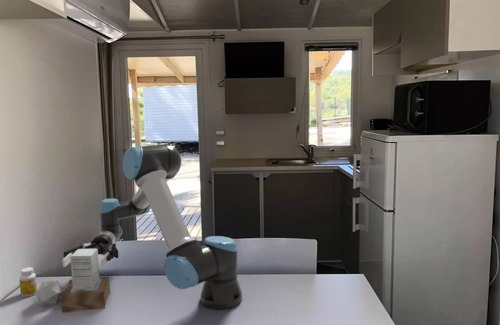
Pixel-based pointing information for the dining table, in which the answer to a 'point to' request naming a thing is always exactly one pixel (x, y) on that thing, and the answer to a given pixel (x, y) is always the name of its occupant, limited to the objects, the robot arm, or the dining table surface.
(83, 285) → the supplement box
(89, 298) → the walnut plinth
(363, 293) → the dining table surface
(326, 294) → the dining table surface
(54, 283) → the die
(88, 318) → the dining table surface
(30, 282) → the supplement bottle
